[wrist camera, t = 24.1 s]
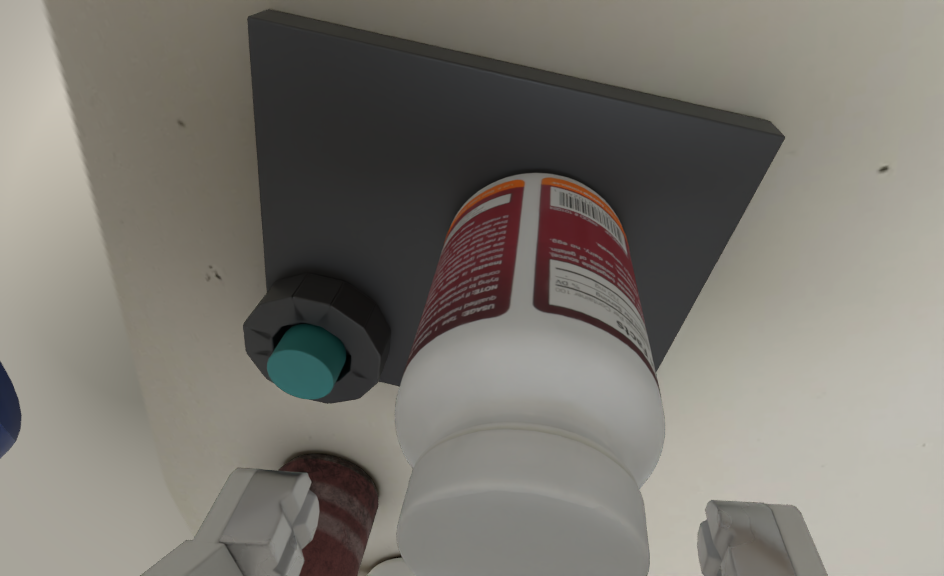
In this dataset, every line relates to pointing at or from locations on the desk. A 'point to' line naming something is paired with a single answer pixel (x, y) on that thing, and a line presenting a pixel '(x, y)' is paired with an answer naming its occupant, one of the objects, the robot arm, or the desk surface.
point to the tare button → (307, 361)
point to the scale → (462, 180)
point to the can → (337, 514)
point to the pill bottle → (530, 393)
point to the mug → (391, 568)
